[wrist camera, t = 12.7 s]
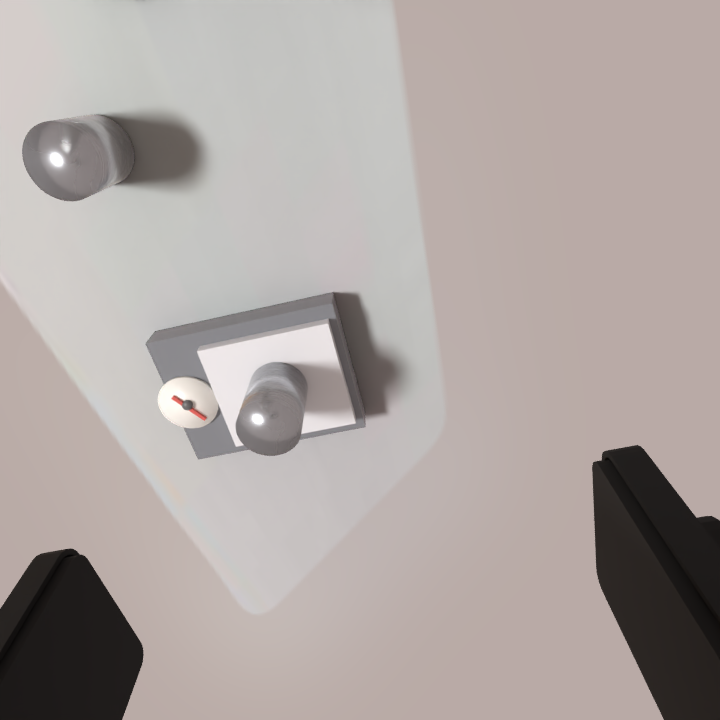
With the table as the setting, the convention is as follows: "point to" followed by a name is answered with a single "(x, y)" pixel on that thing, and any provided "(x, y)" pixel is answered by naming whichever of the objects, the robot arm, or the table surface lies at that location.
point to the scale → (243, 357)
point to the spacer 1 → (77, 156)
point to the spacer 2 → (273, 409)
